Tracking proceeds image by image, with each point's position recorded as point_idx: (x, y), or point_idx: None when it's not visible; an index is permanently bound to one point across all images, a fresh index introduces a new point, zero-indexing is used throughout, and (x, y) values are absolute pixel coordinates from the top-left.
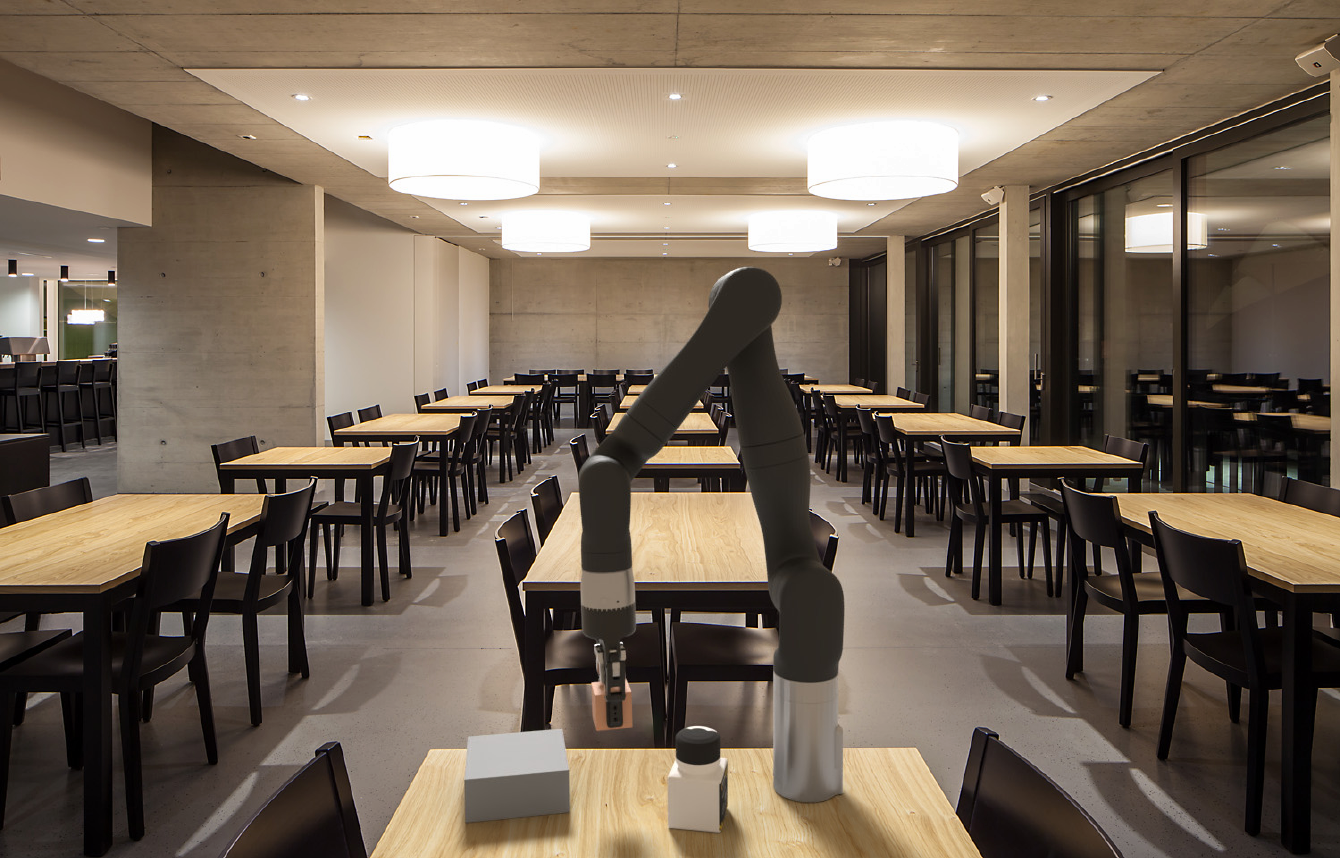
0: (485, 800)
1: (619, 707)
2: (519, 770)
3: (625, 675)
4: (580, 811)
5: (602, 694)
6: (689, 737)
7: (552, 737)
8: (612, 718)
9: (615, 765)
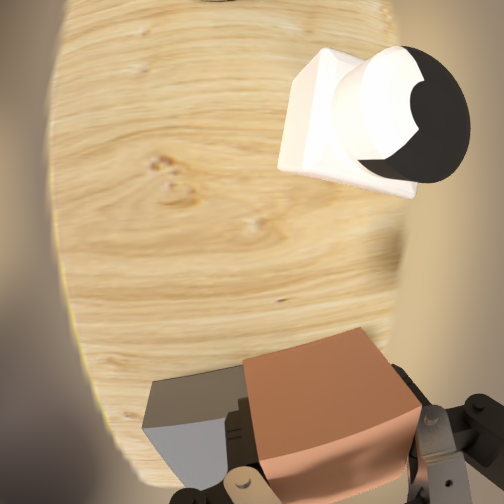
0: None
1: (425, 397)
2: None
3: (465, 467)
4: (302, 335)
5: (403, 466)
6: (460, 144)
7: (183, 438)
8: None
9: (129, 302)
